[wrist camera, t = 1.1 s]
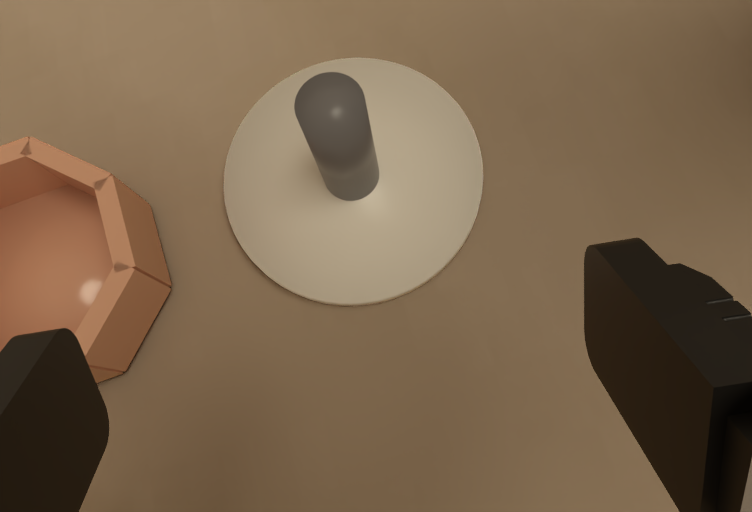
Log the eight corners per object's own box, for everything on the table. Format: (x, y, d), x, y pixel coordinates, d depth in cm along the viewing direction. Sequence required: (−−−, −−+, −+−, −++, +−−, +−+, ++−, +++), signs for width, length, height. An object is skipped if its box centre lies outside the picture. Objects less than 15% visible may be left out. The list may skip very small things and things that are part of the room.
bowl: (31, 149, 38) (-27, 109, 34) (207, 232, 36) (173, 202, 31) (-87, 336, 36) (-167, 322, 31) (94, 436, 34) (38, 438, 29)
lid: (300, 35, 39) (262, -80, 30) (522, 122, 37) (551, 25, 28) (184, 242, 37) (106, 183, 28) (415, 351, 34) (410, 325, 25)
